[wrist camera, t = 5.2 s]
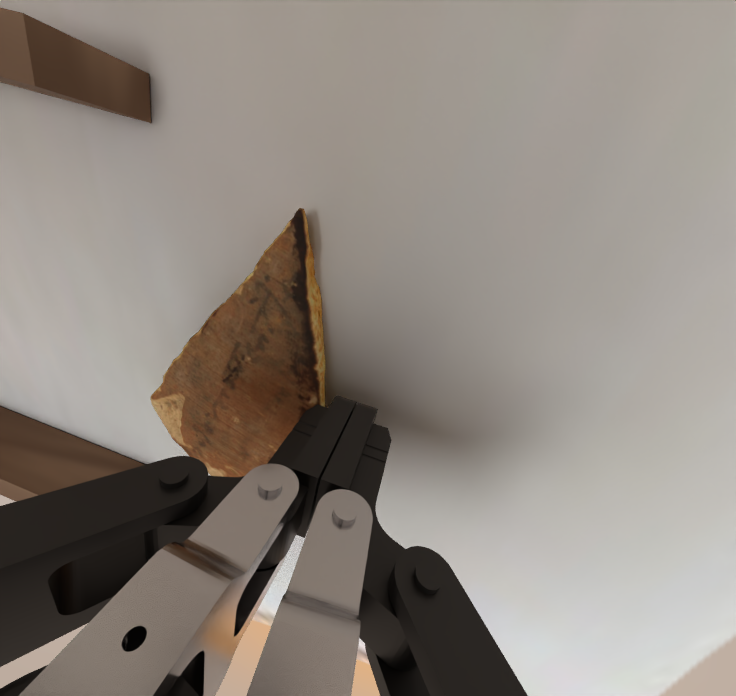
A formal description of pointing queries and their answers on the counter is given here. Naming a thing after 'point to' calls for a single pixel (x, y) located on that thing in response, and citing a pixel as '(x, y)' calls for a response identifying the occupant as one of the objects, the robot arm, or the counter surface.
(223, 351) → the shard
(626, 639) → the counter surface
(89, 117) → the counter surface
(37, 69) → the wooden c-shaped bracket
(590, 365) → the counter surface
